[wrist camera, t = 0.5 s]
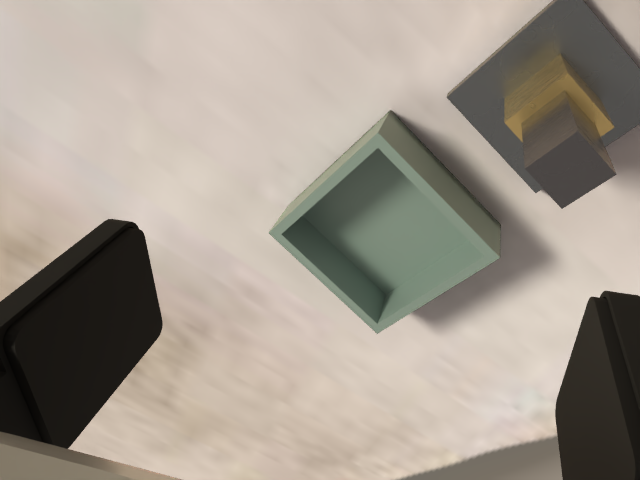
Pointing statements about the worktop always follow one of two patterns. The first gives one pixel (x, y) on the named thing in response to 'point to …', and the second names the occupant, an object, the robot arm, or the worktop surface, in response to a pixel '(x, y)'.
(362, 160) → the bin
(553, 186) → the strut
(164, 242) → the worktop surface
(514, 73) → the ball stud
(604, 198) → the worktop surface
